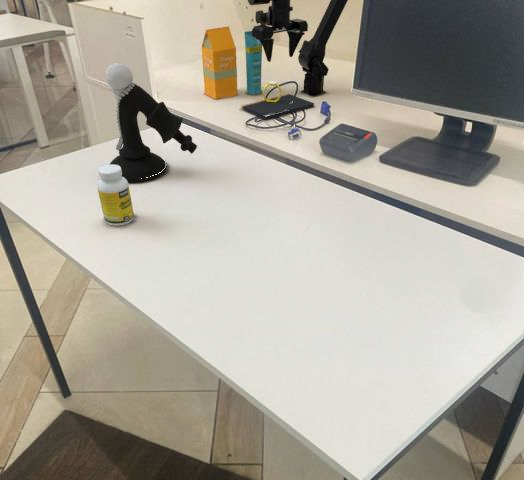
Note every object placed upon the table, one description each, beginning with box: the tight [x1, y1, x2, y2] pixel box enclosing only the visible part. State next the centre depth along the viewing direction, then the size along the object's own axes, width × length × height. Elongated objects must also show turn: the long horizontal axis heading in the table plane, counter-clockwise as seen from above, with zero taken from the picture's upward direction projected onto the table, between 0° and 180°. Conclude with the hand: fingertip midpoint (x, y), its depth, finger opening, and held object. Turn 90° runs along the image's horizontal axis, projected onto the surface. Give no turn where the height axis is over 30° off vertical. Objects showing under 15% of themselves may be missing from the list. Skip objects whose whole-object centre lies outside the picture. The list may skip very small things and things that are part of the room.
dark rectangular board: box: [240, 93, 315, 121], centre depth 172 cm, size 20×13×1 cm, turn 128°
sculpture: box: [105, 62, 198, 184], centre depth 128 cm, size 15×24×25 cm, turn 86°
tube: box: [244, 30, 263, 96], centre depth 178 cm, size 7×5×19 cm, turn 134°
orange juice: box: [201, 26, 239, 100], centre depth 177 cm, size 8×9×20 cm
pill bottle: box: [96, 163, 135, 226], centre depth 113 cm, size 6×6×12 cm
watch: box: [262, 80, 282, 103], centre depth 171 cm, size 6×3×6 cm, turn 90°
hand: (280, 59), depth 172 cm, fingers open, 9 cm apart
